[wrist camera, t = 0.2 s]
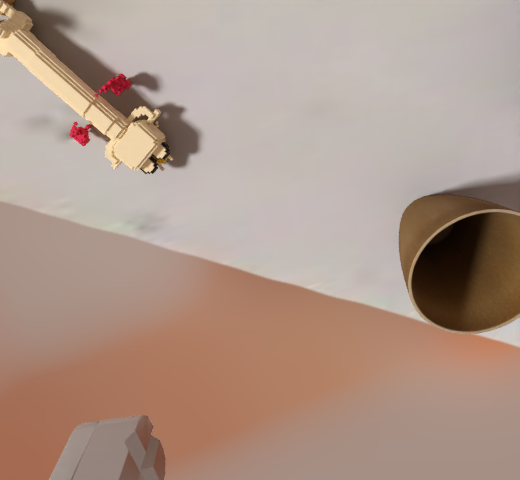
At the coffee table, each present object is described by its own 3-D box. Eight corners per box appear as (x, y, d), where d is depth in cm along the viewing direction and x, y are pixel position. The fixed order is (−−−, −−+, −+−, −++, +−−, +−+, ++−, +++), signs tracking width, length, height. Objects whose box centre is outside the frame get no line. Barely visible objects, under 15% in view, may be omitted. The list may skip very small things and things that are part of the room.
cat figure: (-15, 50, 51) (147, 189, 57) (-72, 47, 43) (123, 209, 48) (27, -20, 48) (194, 134, 53) (-26, -38, 40) (177, 146, 45)
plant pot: (497, 233, 60) (573, 295, 45) (400, 282, 63) (441, 354, 49) (458, 144, 54) (529, 182, 40) (354, 203, 58) (385, 257, 43)
